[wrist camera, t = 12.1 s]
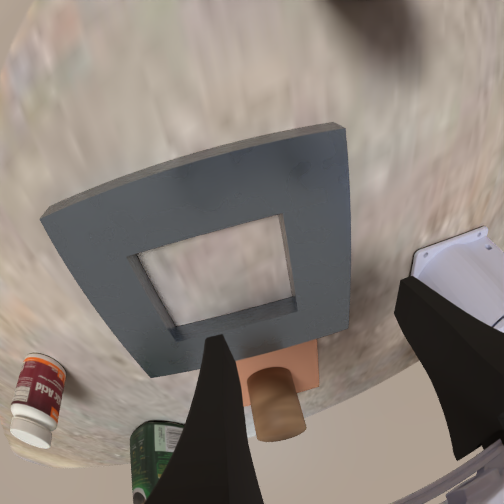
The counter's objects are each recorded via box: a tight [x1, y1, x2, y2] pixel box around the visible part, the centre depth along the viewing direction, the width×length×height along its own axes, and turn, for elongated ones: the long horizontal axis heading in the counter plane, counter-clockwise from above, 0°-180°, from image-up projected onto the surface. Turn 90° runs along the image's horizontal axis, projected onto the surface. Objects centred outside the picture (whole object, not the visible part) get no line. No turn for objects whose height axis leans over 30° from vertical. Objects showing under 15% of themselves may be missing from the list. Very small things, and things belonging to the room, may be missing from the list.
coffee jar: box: [130, 422, 184, 504], centre depth 26 cm, size 10×8×19 cm
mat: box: [235, 339, 319, 406], centre depth 28 cm, size 10×10×1 cm
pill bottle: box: [10, 353, 66, 449], centre depth 19 cm, size 5×5×8 cm
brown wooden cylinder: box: [247, 367, 306, 442], centre depth 25 cm, size 4×4×6 cm
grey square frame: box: [40, 122, 351, 378], centre depth 19 cm, size 17×16×2 cm
